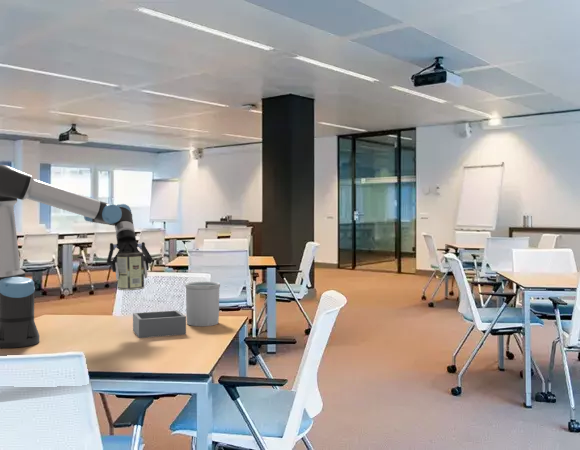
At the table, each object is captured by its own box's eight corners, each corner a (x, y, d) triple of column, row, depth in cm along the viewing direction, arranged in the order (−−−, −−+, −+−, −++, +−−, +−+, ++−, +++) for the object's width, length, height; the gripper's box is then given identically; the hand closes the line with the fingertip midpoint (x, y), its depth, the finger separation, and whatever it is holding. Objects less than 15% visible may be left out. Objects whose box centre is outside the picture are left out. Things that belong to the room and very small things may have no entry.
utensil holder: (217, 326, 232) (217, 285, 232) (181, 326, 233) (182, 285, 232) (222, 320, 247) (222, 281, 247) (189, 320, 247) (189, 281, 247)
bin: (138, 338, 209) (139, 319, 209) (132, 330, 224) (132, 313, 224) (185, 334, 217) (186, 316, 217) (177, 327, 231) (177, 310, 231)
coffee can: (129, 286, 224) (128, 251, 224) (149, 287, 220) (149, 252, 219) (111, 289, 215) (110, 253, 214) (132, 291, 210) (131, 254, 210)
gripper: (152, 240, 235) (160, 281, 221) (96, 241, 226) (100, 284, 212) (154, 228, 230) (162, 269, 216) (97, 229, 221) (102, 272, 207)
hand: (132, 276), depth 214 cm, fingers closed on coffee can, 10 cm apart
